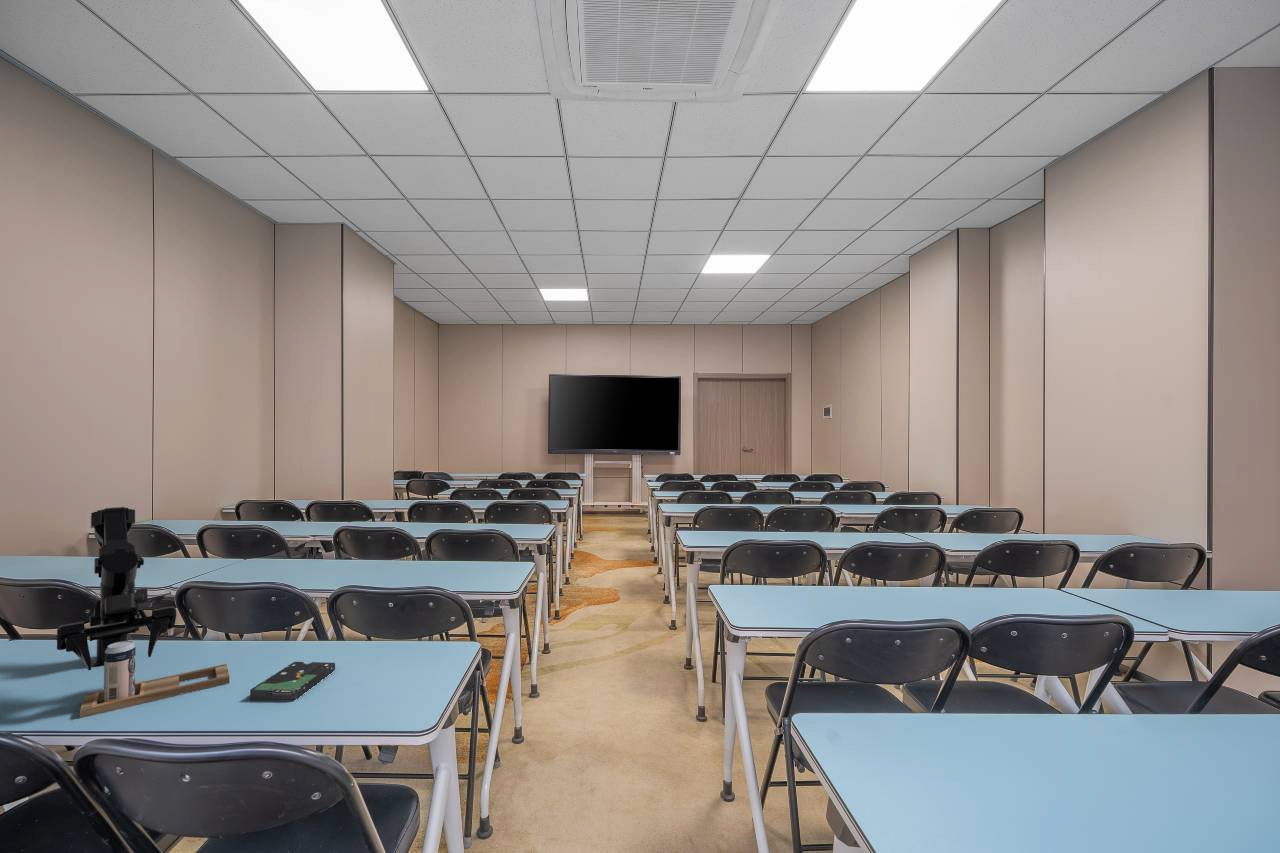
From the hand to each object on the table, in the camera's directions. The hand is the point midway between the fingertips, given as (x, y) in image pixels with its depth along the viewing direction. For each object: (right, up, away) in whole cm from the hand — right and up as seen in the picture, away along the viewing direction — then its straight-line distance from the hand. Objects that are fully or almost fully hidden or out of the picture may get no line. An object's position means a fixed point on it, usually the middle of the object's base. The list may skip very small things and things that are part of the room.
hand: (120, 662), depth 116 cm
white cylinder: (-1, -9, +1) cm, 9 cm away
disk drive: (+31, -10, +9) cm, 34 cm away
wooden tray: (+4, -9, +5) cm, 11 cm away
